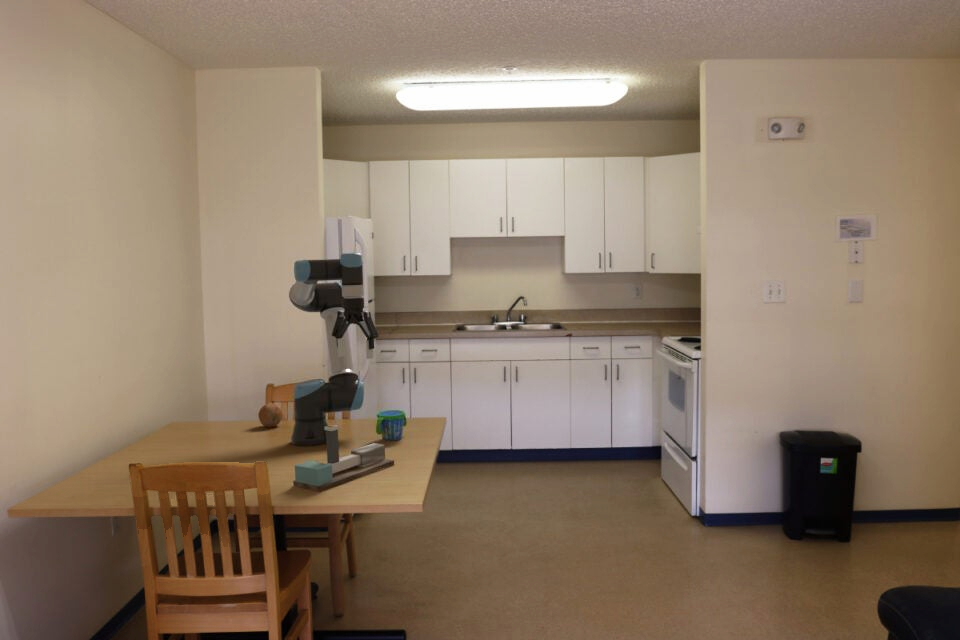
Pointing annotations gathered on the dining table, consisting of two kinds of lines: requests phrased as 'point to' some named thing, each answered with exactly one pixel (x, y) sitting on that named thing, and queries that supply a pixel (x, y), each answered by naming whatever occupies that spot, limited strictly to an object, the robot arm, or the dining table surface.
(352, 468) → the long brown base plank
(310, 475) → the socket
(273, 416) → the brown ball
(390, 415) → the snack cup
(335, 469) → the tube
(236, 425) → the dining table surface
